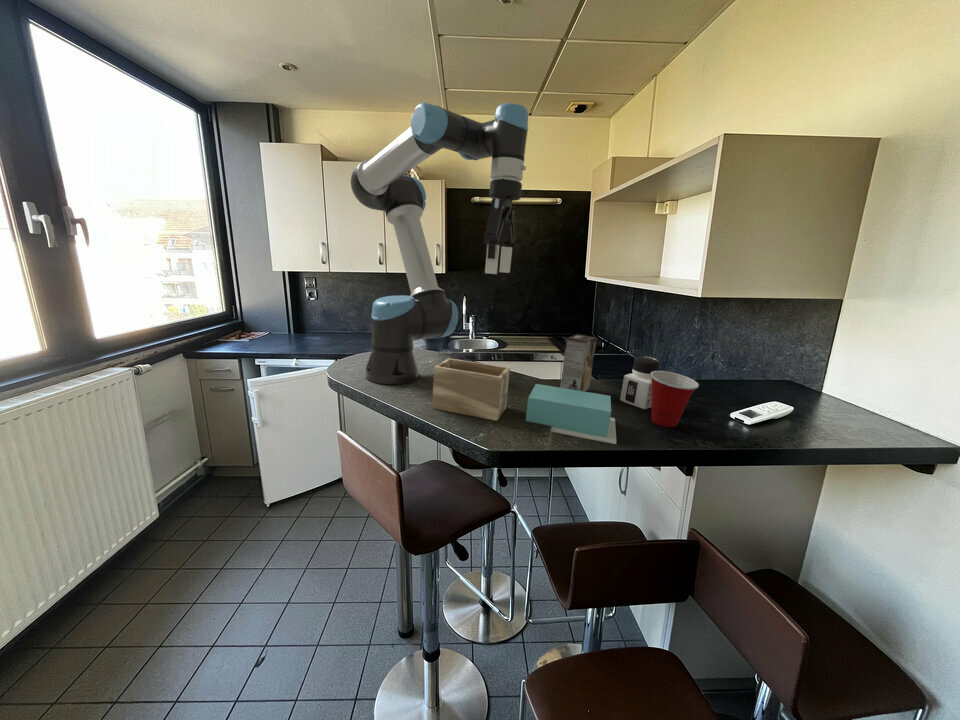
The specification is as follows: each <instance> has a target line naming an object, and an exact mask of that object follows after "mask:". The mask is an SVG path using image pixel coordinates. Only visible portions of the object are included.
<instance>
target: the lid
mask: <svg viewBox="0 0 960 720" xmlns="http://www.w3.org/2000/svg"><path fill="white" fill-rule="evenodd" d="M611 397H612V396H611V395H607V394H602V393H596V392H588V391H585V392H584V391H577V390H571V389H565V388H560V386H552V385H545V384H539V383H535V385H534V387H533V389H532V390H531V392H530V394H529V395H528V397H527V404H526V412H525V413H526V415H525V422H529V423H534V424H539V425H545V426H550V428H551V427H555V428H560V429H565V430H570V431H576V432H581V433H586V434H591V435H596V436H602V437H607V433H608V427H609V422H610V418H611V415H612V402H611V401H612V400H611Z"/></svg>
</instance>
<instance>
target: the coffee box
mask: <svg viewBox="0 0 960 720" xmlns="http://www.w3.org/2000/svg"><path fill="white" fill-rule="evenodd" d="M597 339H598V336H597V337H596V336H589V335H585V334H574V335H571V336H569V337H567V338H566V340H565V341H566V342H565V347H564V355H563V363H562V372H561V378H560V379H561V380H560V386H559V388H565V389H571V390H577V391H584V392H588V390H589V389H590V386H591V379H592V373H593V372H592V371H593V365H594V359H595V353H596V346H597Z"/></svg>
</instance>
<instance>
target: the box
mask: <svg viewBox="0 0 960 720" xmlns="http://www.w3.org/2000/svg"><path fill="white" fill-rule="evenodd" d="M510 373H511V367H506V366H501V365H494V364H489V363H482V362H476V361H469V360H462V359H457V358H450V357H448V358H446V359H445V360H443V361H441V362H439V363H438V364H436V365H434V366H433V383H432V385H433V386H432V402H431V406H432V407H431V408H432V409H434V410H439V411H440V410H441V411H445V412H451V413H456V414H459V415H460V414H462V415H466V416H471V417H475V418H481V419H485V420H492V421H495V422H496V421H498V420H499V419H500V417H501V416H502V414H503V413H504V411H505V410H506V408H507V406H508V405H507V402H508V394H509V393H508V392H509V384H510Z"/></svg>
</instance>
